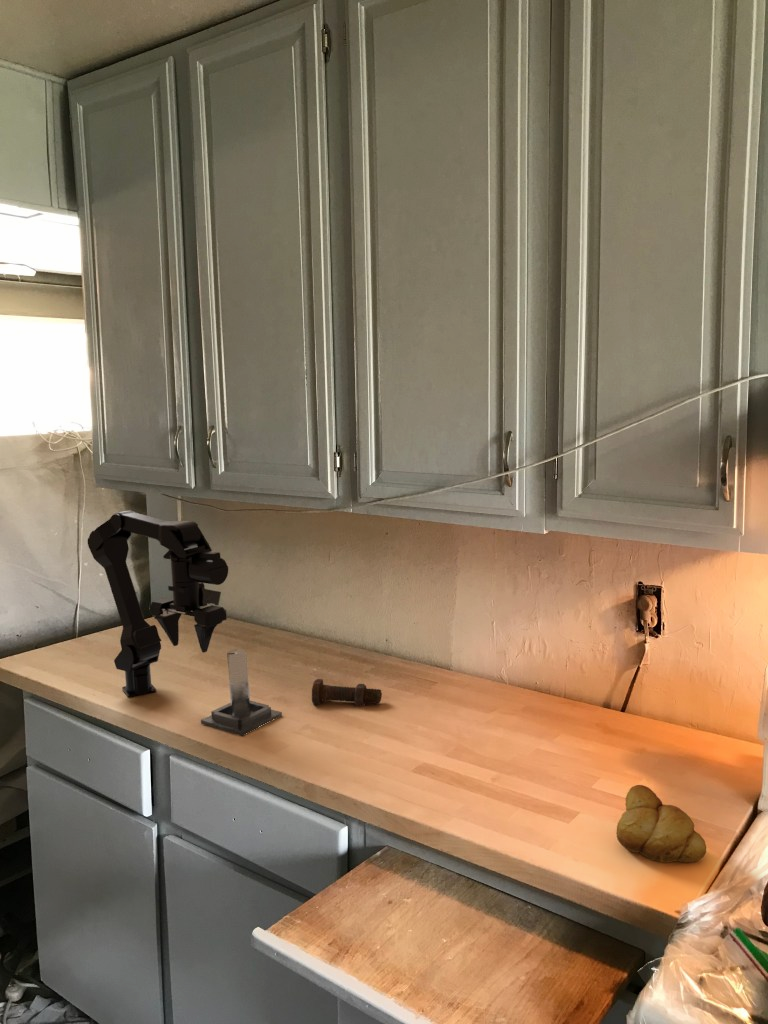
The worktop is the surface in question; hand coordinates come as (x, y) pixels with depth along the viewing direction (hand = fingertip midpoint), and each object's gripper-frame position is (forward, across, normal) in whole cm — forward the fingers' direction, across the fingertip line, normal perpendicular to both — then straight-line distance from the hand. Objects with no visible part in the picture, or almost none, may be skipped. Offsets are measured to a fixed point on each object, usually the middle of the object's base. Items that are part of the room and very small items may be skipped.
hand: (190, 648), depth 184 cm
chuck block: (+13, -15, 0) cm, 20 cm away
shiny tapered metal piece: (+12, -15, 0) cm, 19 cm away
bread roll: (+14, -104, +4) cm, 105 cm away
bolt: (+14, -29, -18) cm, 37 cm away
